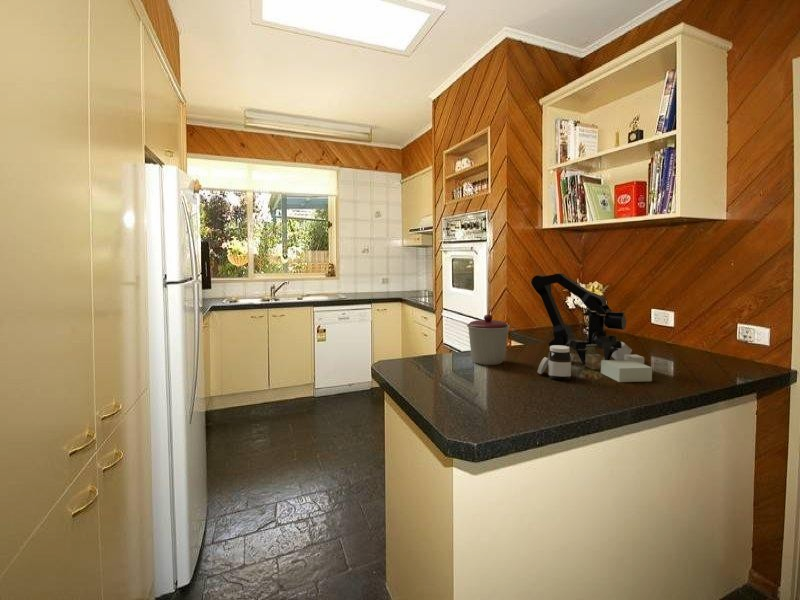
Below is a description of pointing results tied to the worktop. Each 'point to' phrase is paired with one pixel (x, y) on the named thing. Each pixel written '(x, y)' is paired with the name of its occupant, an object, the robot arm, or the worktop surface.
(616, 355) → the die
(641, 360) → the grey cube
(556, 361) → the spread jar
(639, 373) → the sage base block
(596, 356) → the oak cube
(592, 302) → the robot arm
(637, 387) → the worktop surface
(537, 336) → the worktop surface
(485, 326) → the canister
